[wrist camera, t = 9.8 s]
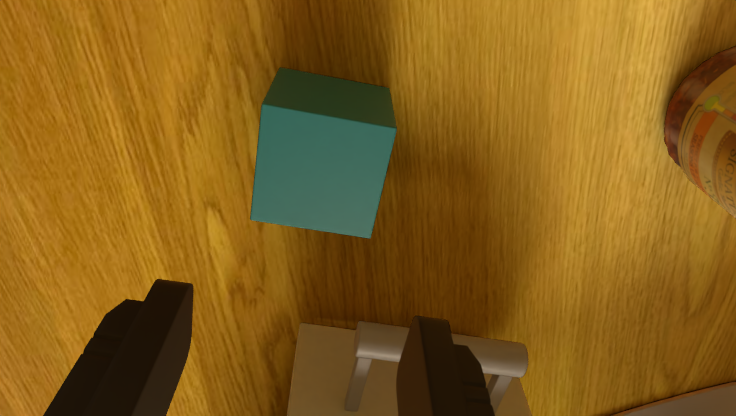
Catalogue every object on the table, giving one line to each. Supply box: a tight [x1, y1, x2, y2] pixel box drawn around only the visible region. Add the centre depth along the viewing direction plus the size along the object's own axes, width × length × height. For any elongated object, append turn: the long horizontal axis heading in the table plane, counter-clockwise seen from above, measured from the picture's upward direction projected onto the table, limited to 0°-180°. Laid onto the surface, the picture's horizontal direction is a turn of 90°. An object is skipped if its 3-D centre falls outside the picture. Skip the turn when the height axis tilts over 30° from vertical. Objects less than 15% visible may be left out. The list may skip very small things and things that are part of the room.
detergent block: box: [250, 67, 397, 238], centre depth 20 cm, size 5×5×5 cm
